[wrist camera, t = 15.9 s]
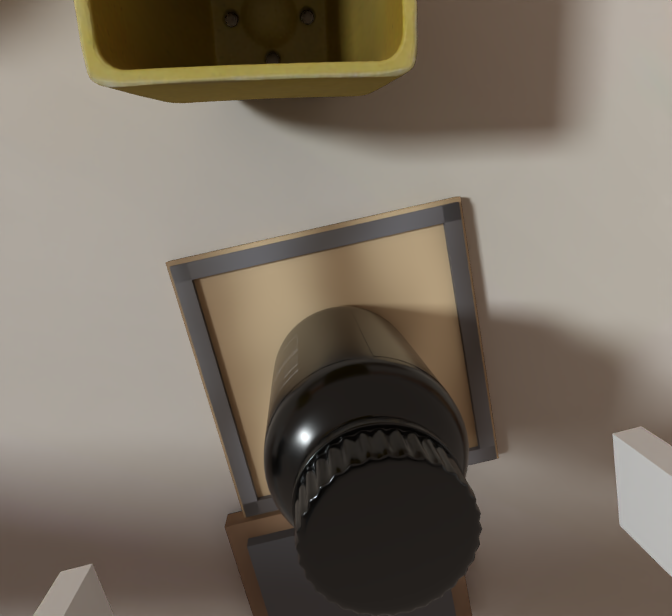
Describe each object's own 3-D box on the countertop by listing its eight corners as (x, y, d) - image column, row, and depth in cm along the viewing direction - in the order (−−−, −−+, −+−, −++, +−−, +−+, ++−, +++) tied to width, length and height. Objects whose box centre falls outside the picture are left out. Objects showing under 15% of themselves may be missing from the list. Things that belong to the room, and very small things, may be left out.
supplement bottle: (325, 455, 24) (346, 694, 12) (247, 353, 23) (187, 518, 11) (436, 383, 24) (566, 563, 12) (364, 274, 22) (432, 359, 10)
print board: (245, 510, 25) (243, 521, 24) (169, 261, 22) (163, 263, 21) (494, 452, 25) (501, 461, 25) (456, 196, 22) (462, 196, 21)
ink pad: (284, 654, 26) (283, 664, 26) (248, 538, 25) (246, 546, 24) (454, 613, 27) (457, 623, 26) (431, 495, 25) (434, 502, 24)
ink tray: (272, 655, 28) (271, 671, 27) (227, 514, 25) (224, 527, 24) (467, 608, 28) (473, 623, 27) (441, 464, 25) (446, 475, 24)
